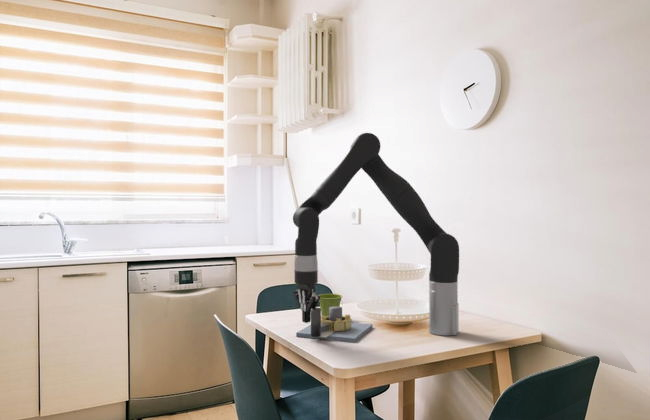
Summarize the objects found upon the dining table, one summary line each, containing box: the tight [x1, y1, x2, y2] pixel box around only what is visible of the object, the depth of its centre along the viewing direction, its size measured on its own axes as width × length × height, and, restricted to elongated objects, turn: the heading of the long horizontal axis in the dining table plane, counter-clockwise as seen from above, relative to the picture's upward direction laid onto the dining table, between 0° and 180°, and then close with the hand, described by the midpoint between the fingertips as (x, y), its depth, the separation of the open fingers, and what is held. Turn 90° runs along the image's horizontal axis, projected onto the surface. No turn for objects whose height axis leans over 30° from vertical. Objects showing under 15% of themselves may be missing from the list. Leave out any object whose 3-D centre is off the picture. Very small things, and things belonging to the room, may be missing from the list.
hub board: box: [295, 306, 374, 343], centre depth 163 cm, size 20×22×8 cm
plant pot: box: [317, 293, 343, 316], centre depth 184 cm, size 9×9×9 cm
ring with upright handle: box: [310, 306, 352, 337], centre depth 161 cm, size 19×10×8 cm, turn 147°
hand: (306, 322), depth 158 cm, fingers closed
